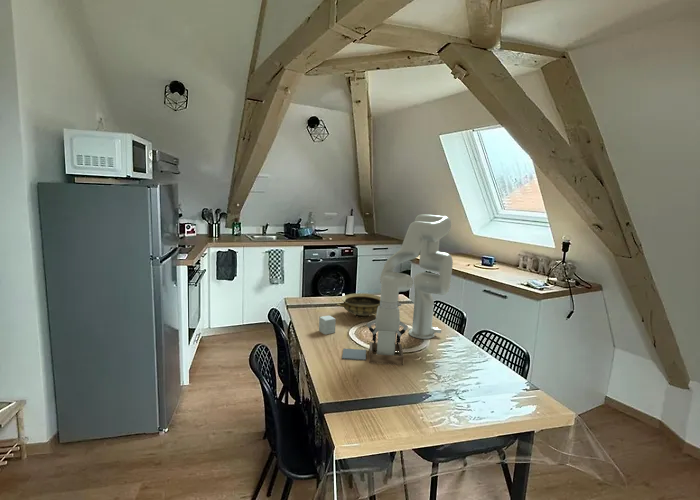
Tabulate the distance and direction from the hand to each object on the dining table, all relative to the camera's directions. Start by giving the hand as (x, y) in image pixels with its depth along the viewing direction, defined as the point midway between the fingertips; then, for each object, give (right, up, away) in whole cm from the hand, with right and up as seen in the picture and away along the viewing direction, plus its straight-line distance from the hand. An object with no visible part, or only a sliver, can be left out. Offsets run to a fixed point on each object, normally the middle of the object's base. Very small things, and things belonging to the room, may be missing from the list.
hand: (386, 343), depth 179 cm
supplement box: (0, -6, +1) cm, 7 cm away
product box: (-27, -1, +28) cm, 39 cm away
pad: (-14, -5, +2) cm, 15 cm away
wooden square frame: (0, -6, +1) cm, 6 cm away
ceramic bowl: (-9, +3, +55) cm, 56 cm away
